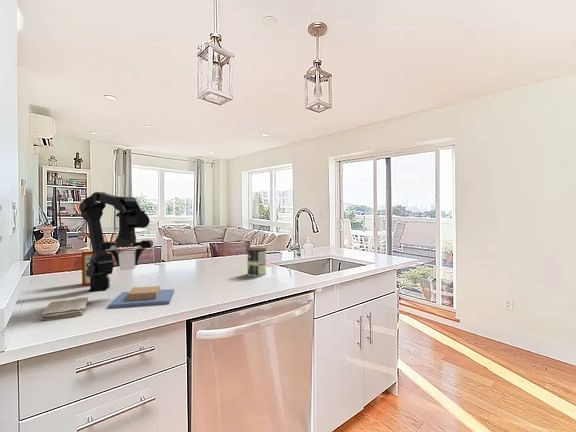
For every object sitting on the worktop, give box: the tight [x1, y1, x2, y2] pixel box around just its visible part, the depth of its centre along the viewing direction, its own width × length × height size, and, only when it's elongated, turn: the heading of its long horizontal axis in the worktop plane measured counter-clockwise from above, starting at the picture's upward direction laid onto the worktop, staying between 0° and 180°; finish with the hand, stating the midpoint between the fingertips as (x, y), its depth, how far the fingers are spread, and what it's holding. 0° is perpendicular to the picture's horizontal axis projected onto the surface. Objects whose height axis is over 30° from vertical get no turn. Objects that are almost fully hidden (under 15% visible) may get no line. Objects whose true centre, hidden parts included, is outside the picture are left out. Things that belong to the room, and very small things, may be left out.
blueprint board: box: [108, 285, 175, 309], centre depth 120 cm, size 20×18×4 cm
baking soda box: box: [81, 249, 93, 287], centre depth 146 cm, size 10×6×16 cm
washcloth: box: [40, 296, 89, 322], centre depth 106 cm, size 12×18×3 cm, turn 31°
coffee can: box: [246, 247, 267, 277], centre depth 168 cm, size 10×10×14 cm
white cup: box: [118, 250, 136, 271], centre depth 126 cm, size 7×7×7 cm
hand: (127, 265), depth 126 cm, fingers closed on white cup, 6 cm apart
